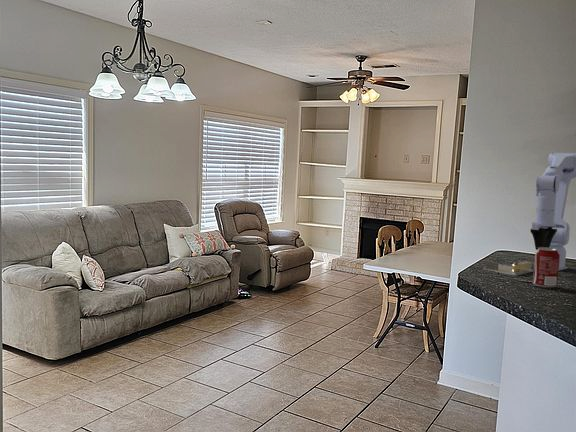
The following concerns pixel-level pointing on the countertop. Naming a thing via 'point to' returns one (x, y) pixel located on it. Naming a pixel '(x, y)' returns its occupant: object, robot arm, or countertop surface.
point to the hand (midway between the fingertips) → (542, 249)
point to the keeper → (494, 266)
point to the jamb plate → (508, 269)
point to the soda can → (546, 267)
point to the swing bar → (521, 266)
